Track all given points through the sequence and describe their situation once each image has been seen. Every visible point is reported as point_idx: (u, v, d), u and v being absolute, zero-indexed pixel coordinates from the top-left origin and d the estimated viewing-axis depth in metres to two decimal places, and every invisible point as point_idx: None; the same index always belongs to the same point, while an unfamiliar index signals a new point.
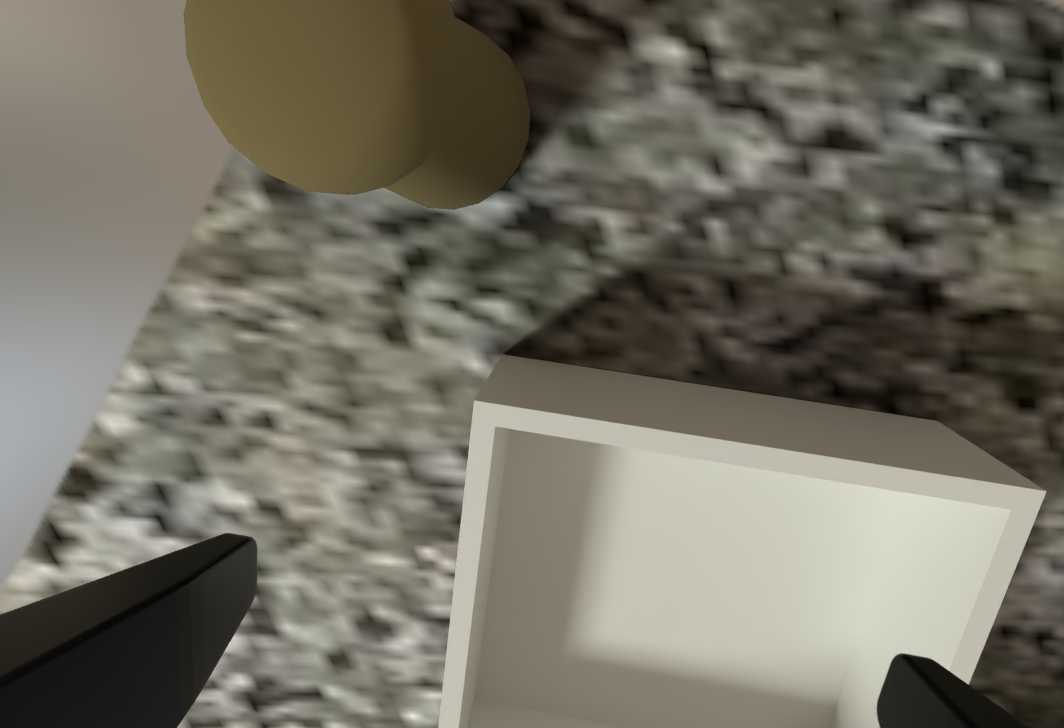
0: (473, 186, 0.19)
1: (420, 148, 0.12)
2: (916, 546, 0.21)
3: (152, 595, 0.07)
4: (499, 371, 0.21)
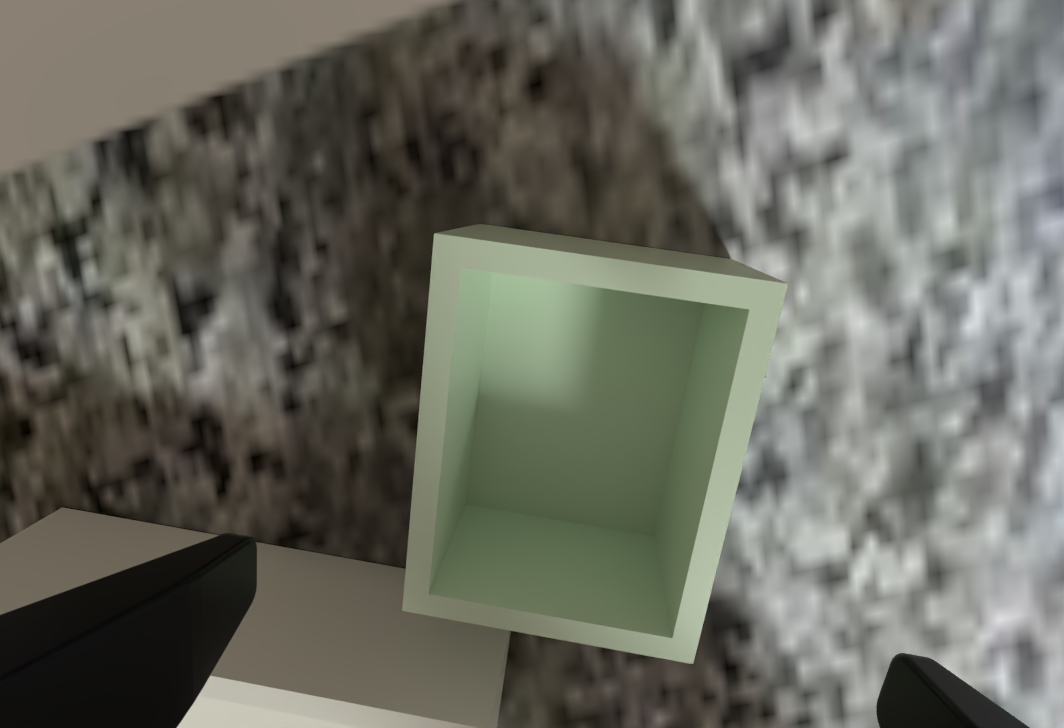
0: None
1: None
2: None
3: (152, 595, 0.07)
4: None
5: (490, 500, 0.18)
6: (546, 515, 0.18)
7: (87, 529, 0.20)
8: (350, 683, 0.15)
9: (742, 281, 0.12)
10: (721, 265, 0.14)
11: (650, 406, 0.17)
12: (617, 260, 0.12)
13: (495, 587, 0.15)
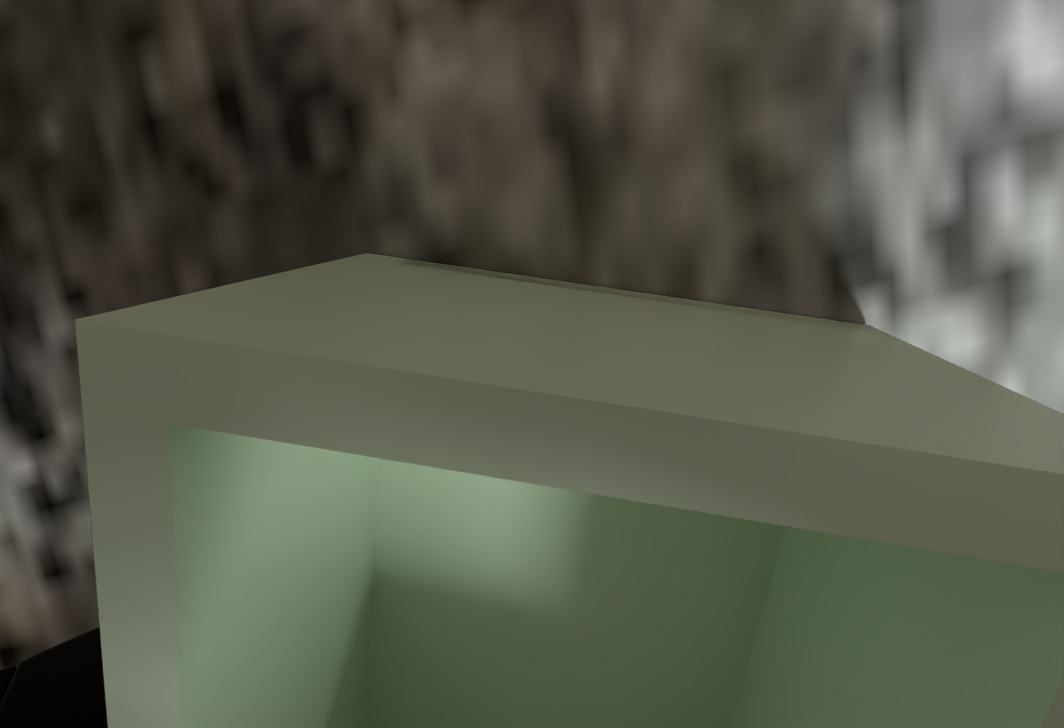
0: None
1: None
2: None
3: None
4: None
5: None
6: None
7: None
8: None
9: None
10: (907, 372, 0.06)
11: (700, 606, 0.09)
12: (664, 416, 0.04)
13: None
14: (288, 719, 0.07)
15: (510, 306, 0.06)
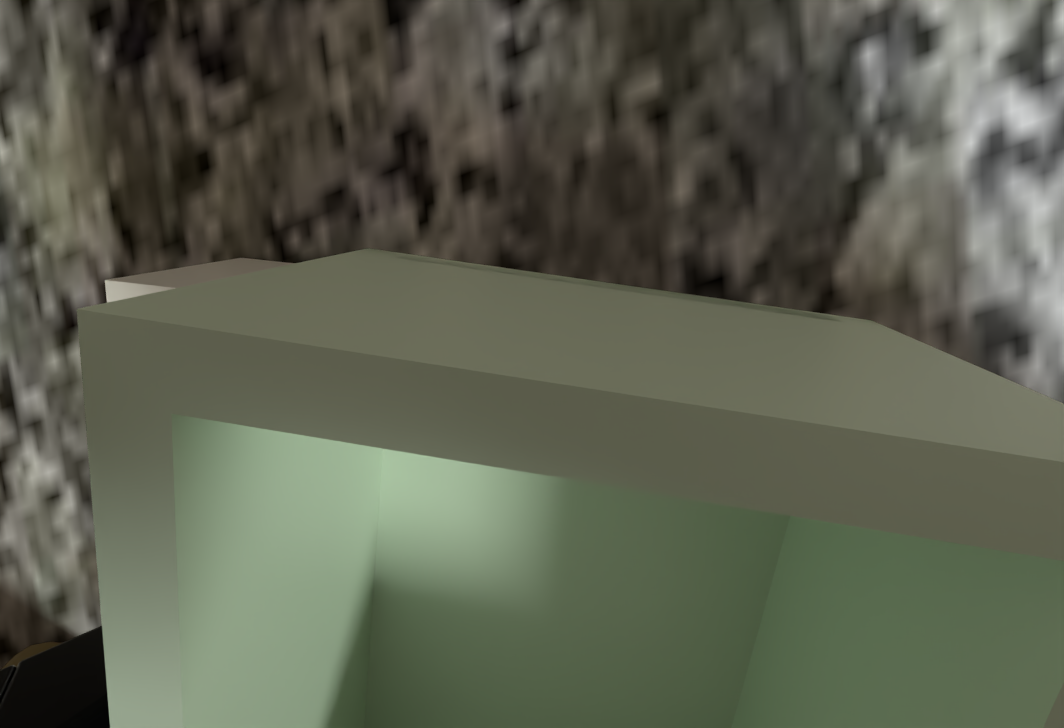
0: None
1: None
2: None
3: None
4: None
5: None
6: None
7: (279, 266, 0.18)
8: None
9: None
10: (911, 365, 0.06)
11: (703, 602, 0.09)
12: (669, 405, 0.04)
13: None
14: (290, 714, 0.07)
15: (513, 299, 0.06)
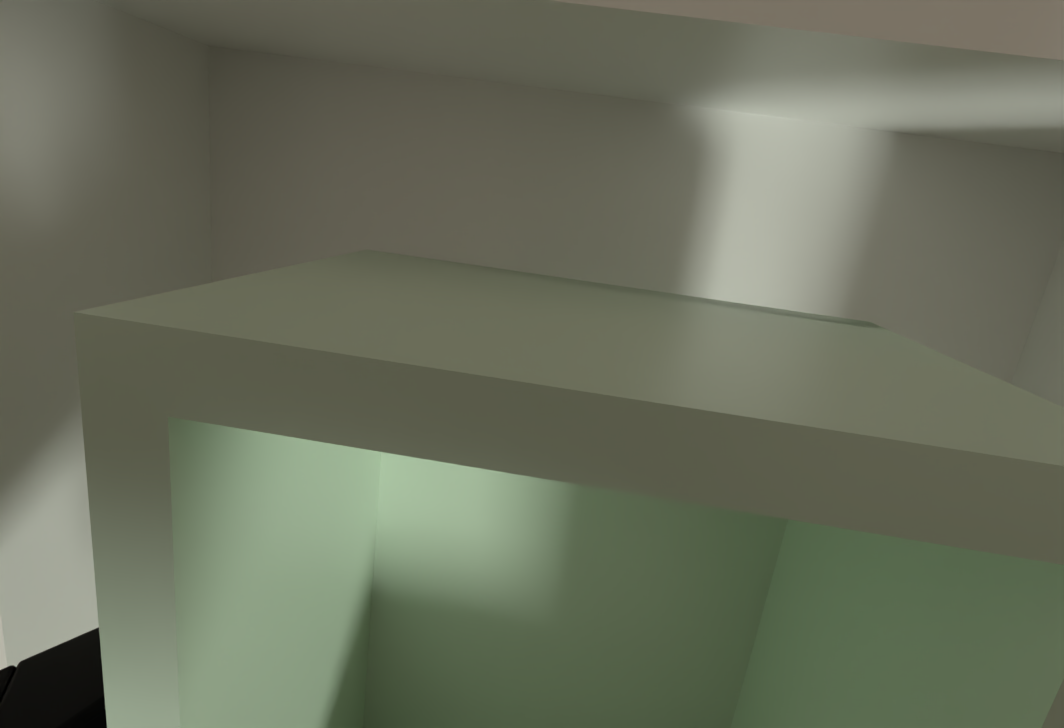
0: None
1: None
2: (358, 47, 0.09)
3: None
4: None
5: None
6: None
7: None
8: None
9: None
10: (909, 367, 0.05)
11: (701, 603, 0.09)
12: (665, 408, 0.04)
13: None
14: (288, 716, 0.07)
15: (510, 301, 0.06)
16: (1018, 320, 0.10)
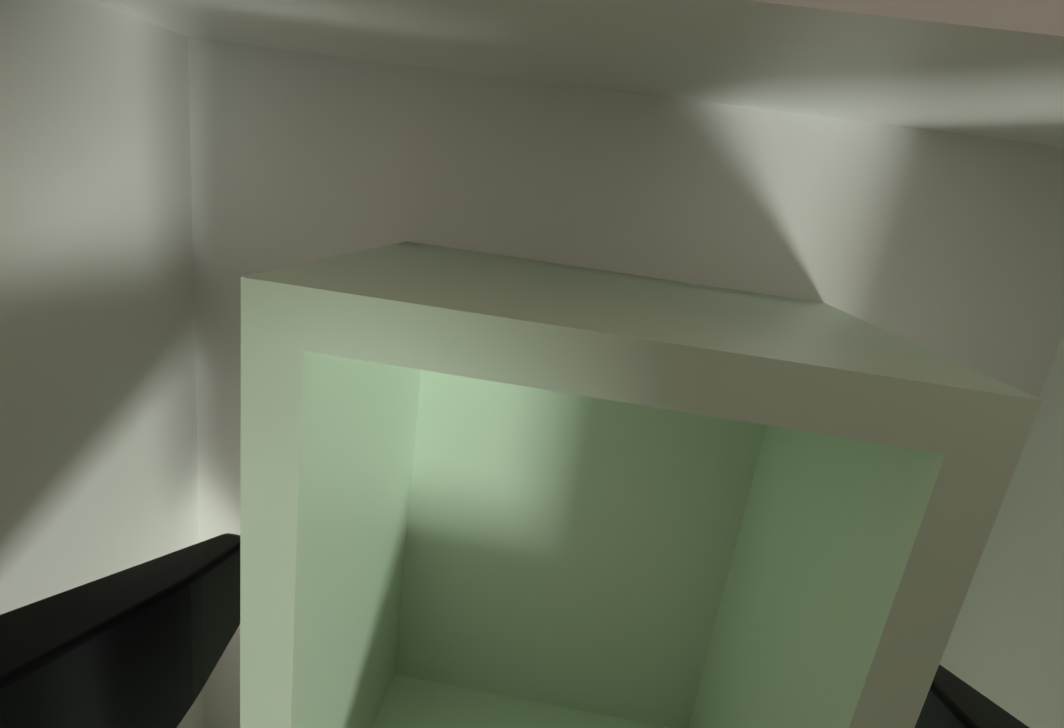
0: None
1: None
2: (344, 37, 0.08)
3: (152, 595, 0.07)
4: None
5: (431, 670, 0.12)
6: (518, 693, 0.12)
7: None
8: None
9: (933, 392, 0.05)
10: (837, 330, 0.07)
11: (684, 539, 0.11)
12: (646, 342, 0.05)
13: None
14: (351, 611, 0.08)
15: (532, 280, 0.08)
16: (1049, 329, 0.10)
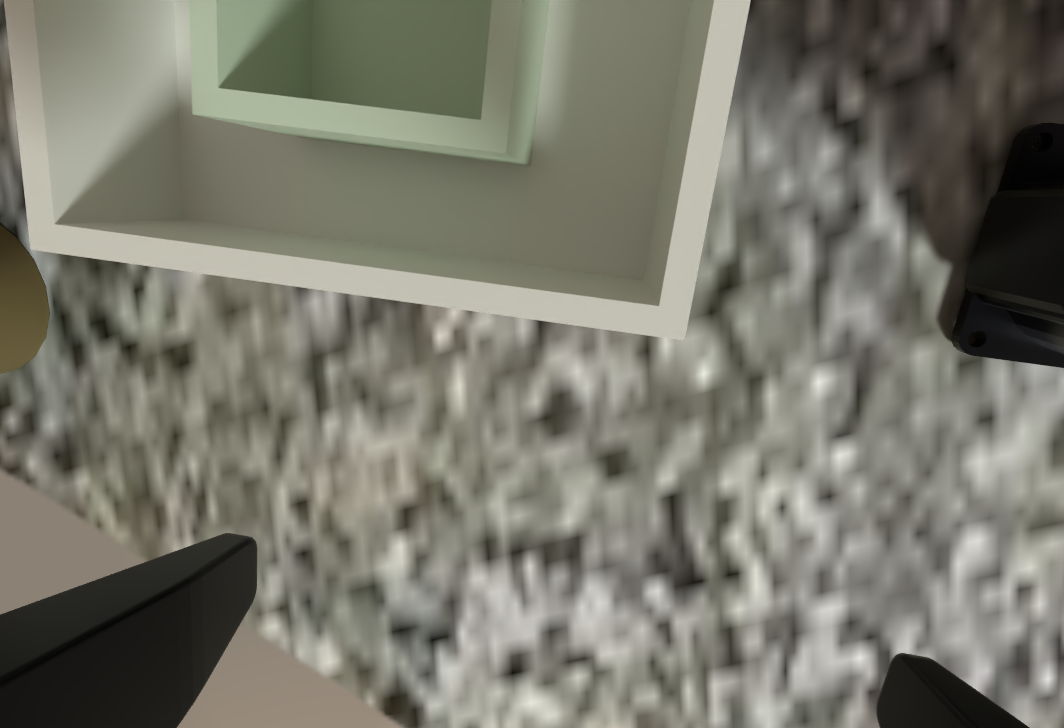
0: None
1: None
2: None
3: (152, 595, 0.07)
4: None
5: None
6: None
7: None
8: None
9: None
10: None
11: None
12: None
13: None
14: None
15: None
16: None
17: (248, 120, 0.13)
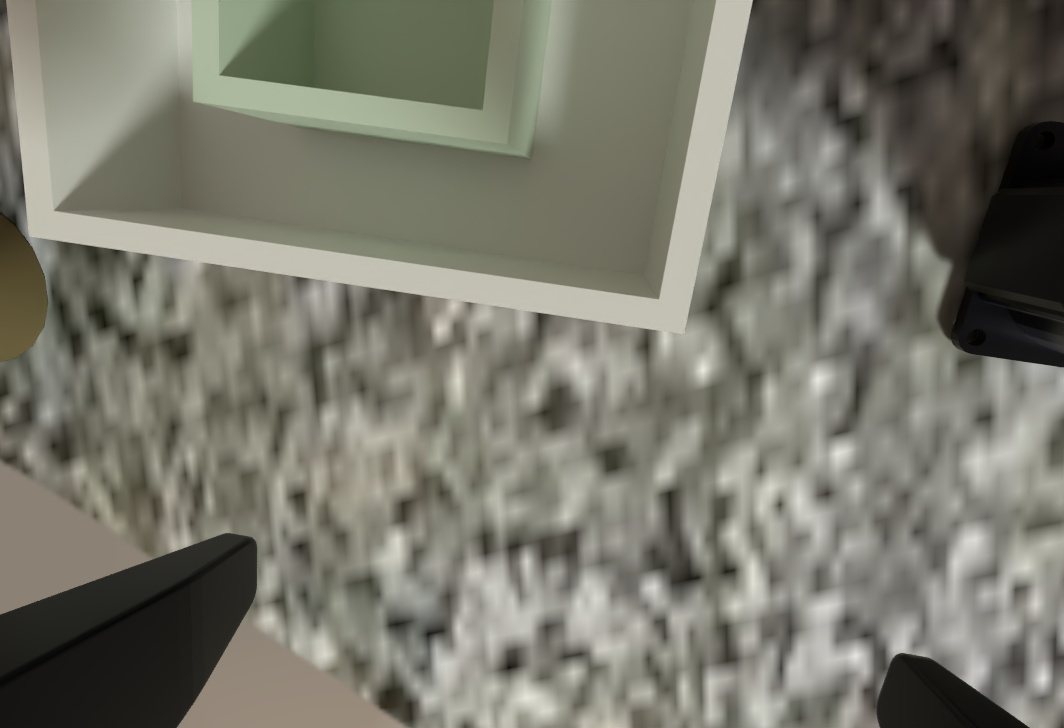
0: None
1: None
2: None
3: (152, 595, 0.07)
4: None
5: None
6: None
7: None
8: None
9: None
10: None
11: None
12: None
13: None
14: None
15: None
16: None
17: (249, 108, 0.13)
